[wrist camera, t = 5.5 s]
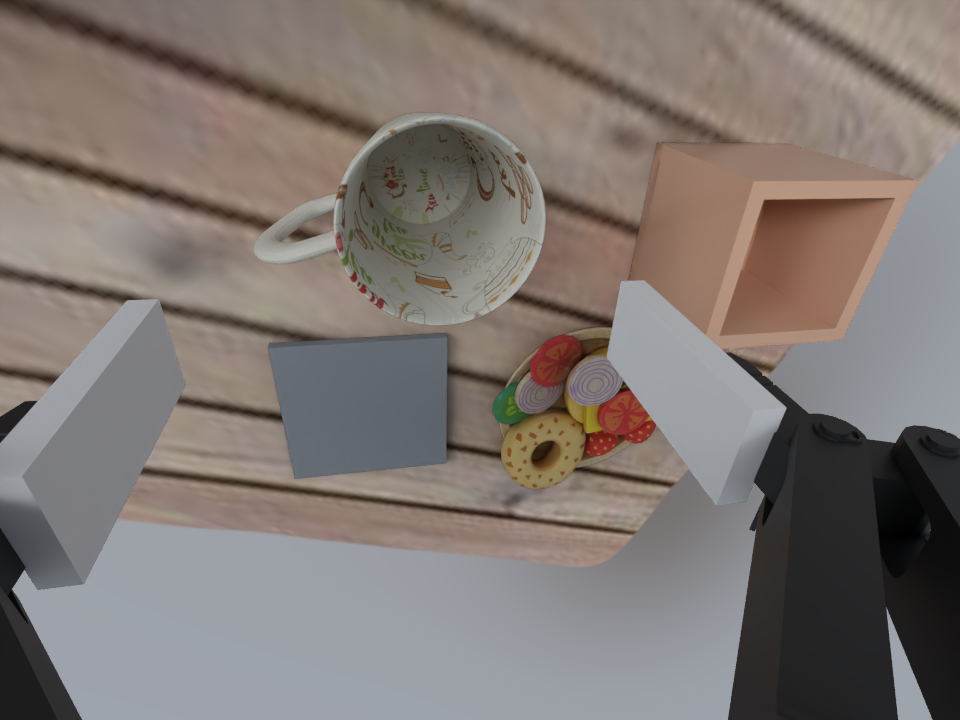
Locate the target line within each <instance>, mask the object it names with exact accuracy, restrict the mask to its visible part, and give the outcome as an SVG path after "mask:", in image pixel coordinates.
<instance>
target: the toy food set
mask: <svg viewBox="0 0 960 720" xmlns="http://www.w3.org/2000/svg"><path fill="white" fill-rule="evenodd" d="M611 331H612V328H610V327H593V328H586V329H581V330H577V331H573V332H570V333H567V334H564V335H560V336H557V337H554V338H552V339H550V340H548V341H547V342H546V343H544V344H543V345H542V346H541V347H540V348H538V349H537V350H535V351H534V352H533V353H532V354H531V355H529V356H528V357H527V358H526V359H525V360H524V361H523V362H522V363H521V364H520V366H519V367H518V368H517V369H516V370H515V372H514V373H513V375H512V376H511V378H510V379H509V381H508V383H507V385H506V387H505V389H504V390H503V391H502V392H501V393H500V394H499V395H498V396H497V398H496V400H495V402H494V404H493V415H494V417H495V418H496V419H497V421H499V424H500V429H501V433H502V435H503V437H504V442H503V445H502V449H501V459H502V463H503V466H504V468H505V470H506V471H507V473H508V474H509V476H510V477H511V478H512V480H514V481H515V482H516V483H517V484H519V485H520V486H523V487H525V488H529V489H543V488H548V487H551V486H554V485H556V484H558V483H560V482H561V481H563V480H564V479H566V478H567V477H568V476H569V475H570V474H571V473H572V472H573V471H574V469H575V468H577V467H583V466H587V465H591V464H594V463H597V462H599V461H602V460H604V459H607V458H609V457H611V456H612V455H614V454H616V453H618V452H619V451H621V450H622V449H624V448H625V447H627V446H628V445H629V444H631V443H641V442H643V441H645V440H647V439H648V438H649V437H650V435H651V434H652V432H653V431H654V429H655V426H656V424H655V422H654V421H653V420H652V418H651V417H650V415H649V414H648V413H647V411H646V410H645V409H644V407H643V406H642V405H641V403H640V402H639V401H638V399H637V398H636V396H635V395H634V394H633V392H632V391H631V390H630V388H629V387H628V386H627V384H626V383H625V382H624V380H623V379H622V377H621V376H620V375H619V373H618V372H617V371H616V369H615V368H614V367H613V365H612V364H611V363H610V361H609V360H608V359H607V352H608V347H609V341H610V336H611Z"/></svg>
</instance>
